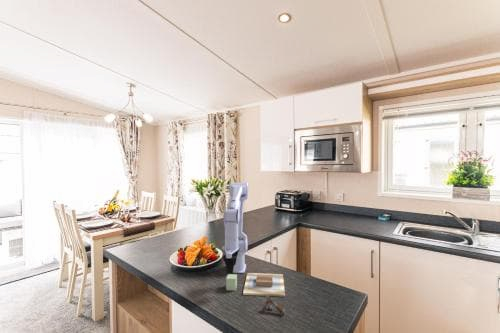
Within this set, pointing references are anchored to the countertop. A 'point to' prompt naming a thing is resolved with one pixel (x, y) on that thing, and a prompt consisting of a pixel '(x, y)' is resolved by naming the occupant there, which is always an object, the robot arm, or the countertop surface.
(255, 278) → the build board
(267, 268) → the countertop surface
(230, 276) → the green block
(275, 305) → the brown triangle frame
